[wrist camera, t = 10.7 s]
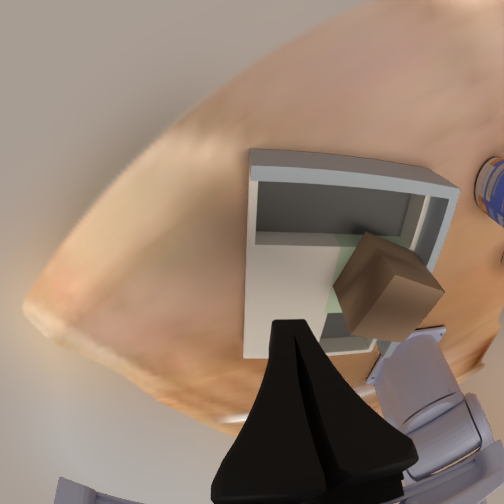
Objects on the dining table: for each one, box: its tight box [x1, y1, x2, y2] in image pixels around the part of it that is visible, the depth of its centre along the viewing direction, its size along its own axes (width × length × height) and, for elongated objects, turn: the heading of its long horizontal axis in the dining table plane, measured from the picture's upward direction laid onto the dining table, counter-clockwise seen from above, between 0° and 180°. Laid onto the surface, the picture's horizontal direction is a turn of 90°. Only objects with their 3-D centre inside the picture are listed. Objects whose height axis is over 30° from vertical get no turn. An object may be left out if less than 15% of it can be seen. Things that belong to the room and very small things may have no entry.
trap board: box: [243, 149, 461, 358], centre depth 20 cm, size 18×13×4 cm
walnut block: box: [333, 231, 445, 343], centre depth 18 cm, size 5×5×5 cm
